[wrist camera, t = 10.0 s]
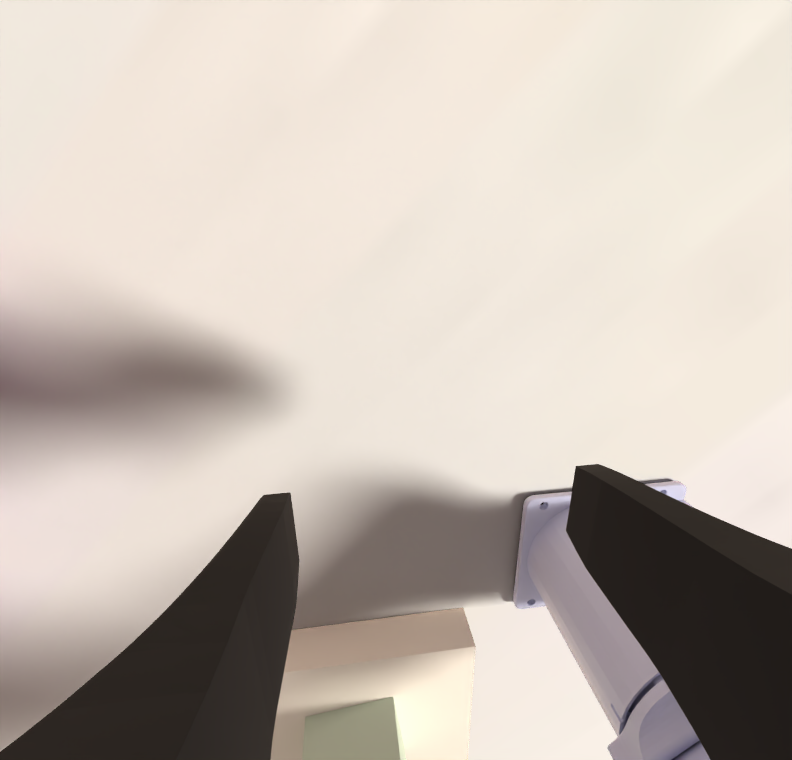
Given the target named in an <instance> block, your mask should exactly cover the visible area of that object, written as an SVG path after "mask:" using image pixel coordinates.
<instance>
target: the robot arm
mask: <svg viewBox="0 0 792 760" xmlns="http://www.w3.org/2000/svg"><path fill="white" fill-rule="evenodd" d="M685 493H686V486H685V485H684V484H682V483H681V482H679V481H671V482H661V483H651V484H643V483H640V482H638V481H636V480H634V479H632V478H630V477H628V476H625V475H623V474H621V473H619V472H617V471H614V470H612V469H609V468H607V467H604V466H602V465H599V464H595V465H584V466H576V469H575V475H574V482H573V488H572V491H570V492H560V493H550V494H540V495H532V496H529V497H528V498H526V500H525V501H524V504H523V513H522V522H521V532H520V541H519V550H518V559H517V568H516V577H515V586H514V595H513V602H514V604H515V606H516V607H517V608H519V609H526V608H534V607H541V606H546V607H547V609H548V610H549V612H550V614H551V616H552V618H553V620H554V621H555V623H556V625H557V627H558V629H559V630H560V632H561V634H562V636H563V638H564V640H565V641H566V643H567V645H568V647H569V649H570V651H571V652H572V654H573V656H574V658H575V660H576V661H577V663H578V665H579V667H580V669H581V671H582V672H583V674H584V676H585V678H586V680H587V681H588V683H589V685H590V687H591V689H592V691H593V692H594V694H595V696H596V698H597V700H598V702H599V703H600V705H601V707H602V709H603V711H604V712H605V714H606V716H607V718H608V720H609V722H610V723H611V725H612V727H613V729H614V731H615V733H616V734H617V736H618V737H617V738H616V740H614V741H613V742H612V743H611V744H610V745H608V750H609V752H610V754H611V756H612V758H613V760H792V549H791V548H788V547H785V546H783V545H780V544H777V543H775V542H772V541H770V540H767V539H765V538H762V537H760V536H757V535H755V534H752V533H750V532H748V531H745V530H743V529H741V528H738V527H736V526H734V525H731V524H729V523H727V522H725V521H722V520H720V519H718V518H715V517H713V516H711V515H709V514H706V513H704V512H702V511H700V510H698V509H695V508H694V507H692V506H691V505H690V504H688V503H687V502H686V501H685V500H684V497H685ZM543 502H545V503H544V504H543V505H540V504H541V503H543ZM298 572H299V555H298V547H297V540H296V532H295V524H294V517H293V509H292V502H291V494H290V493H280V494H270V495H264V496H263V497H262V498H261V499H260V500H259V501H258V502H257V504H256V505H255V506H254V508H253V509H252V510H251V512H250V513H249V514H248V516H247V517H246V518H245V519H244V521H243V522H242V523H241V525H240V526H239V527H238V528H237V530H236V531H235V532H234V534H233V535H232V536H231V537H230V539H229V540H228V541H227V542H226V543H225V545H224V546H223V547H222V548H221V549H220V551H219V552H218V553H217V554H216V555H215V557H214V558H213V559H212V560H211V561H210V563H209V564H208V565H207V566H206V567H205V568H204V569H203V571H202V572H201V573H200V574H199V575H198V576H197V577H196V578H195V579H194V580H193V582H192V583H191V584H190V585H189V586H188V587H187V588H186V589H185V590H184V591H183V593H182V594H181V595H180V596H179V597H178V598H177V599H176V600H175V601H174V602H173V603H172V604H171V605H170V606H169V607H168V608H167V609H166V610H165V611H164V612H163V614H162V615H161V616H160V617H159V618H158V619H157V620H155V621H154V622H153V623H152V624H151V625H150V626H149V627H148V628H147V629H146V630H145V631H144V632H143V633H142V634H141V635H140V636H139V637H138V638H137V639H136V640H135V641H134V642H133V643H132V644H130V645H129V646H128V647H127V648H126V649H125V650H124V651H123V652H122V653H121V654H119V655H118V656H117V657H116V658H115V659H114V660H112V661H111V662H110V663H109V664H108V665H107V666H105V667H104V668H103V669H102V670H101V671H99V672H98V673H97V674H96V675H95V676H94V677H92V678H91V679H90V680H89V681H88V682H87V683H85V684H84V685H83V686H82V687H81V688H80V689H78V690H77V691H76V692H75V693H74V694H73V695H71V696H70V697H69V698H68V699H67V700H66V701H64V702H63V703H62V704H61V705H60V706H58V707H57V708H56V709H55V710H53V711H52V712H51V713H50V714H48V715H47V716H46V717H45V718H43V719H42V720H41V721H39V722H38V723H37V724H36V725H34V726H33V727H32V728H31V729H29V730H28V731H27V732H26V733H24V734H23V735H22V736H20V737H19V738H18V739H17V740H15V741H14V742H13V743H11V744H10V745H9V746H7V747H6V748H5V749H3V750H2V751H1V752H0V760H270V759H271V749H272V740H273V733H274V726H275V719H276V713H277V707H278V702H279V696H280V691H281V685H282V680H283V674H284V669H285V663H286V658H287V652H288V647H289V641H290V636H291V630H292V625H293V619H294V613H295V608H296V600H297V587H298Z"/></svg>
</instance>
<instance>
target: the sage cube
mask: <svg viewBox="0 0 792 760" xmlns="http://www.w3.org/2000/svg"><path fill="white" fill-rule="evenodd" d="M302 760H406V756H405V748H404V744H403V739H402V735H401V730H400V725H399V721H398V716H397V712H396V707H395V703H394V698H393V697H389V698H384V699H380V700H376V701H372V702H367V703H363V704H359V705H354V706H350V707H346V708H341V709H337V710H333V711H329V712H324V713H320V714H316V715H311V716H307V717H305V727H304V740H303V754H302Z"/></svg>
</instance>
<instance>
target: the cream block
mask: <svg viewBox="0 0 792 760" xmlns="http://www.w3.org/2000/svg"><path fill="white" fill-rule="evenodd" d="M475 647H476V646H475V643H474V640H473V637H472V634H471V631H470V628H469V624H468V621H467V618H466V615H465V612H464V609H463V608H456V609H448V610H441V611H433V612H425V613H418V614H410V615H403V616H395V617H387V618H380V619H372V620H364V621H357V622H349V623H342V624H334V625H326V626H319V627H311V628H303V629H296V630H291V636H290V641H289V647H288V652H287V658H286V663H285V669H284V674H283V680H282V685H281V691H280V696H279V702H278V707H277V713H276V719H275V726H274V733H273V740H272V749H271V759H270V760H302V754H303V740H304V727H305V717H307V716H311V715H316V714H320V713H324V712H329V711H333V710H337V709H341V708H346V707H350V706H354V705H359V704H363V703H367V702H372V701H376V700H380V699H384V698H389V697H393V698H394V703H395V707H396V712H397V716H398V721H399V725H400V730H401V735H402V739H403V744H404V748H405V756H406V760H468V748H469V734H470V719H471V705H472V690H473V676H474V661H475Z"/></svg>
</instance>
